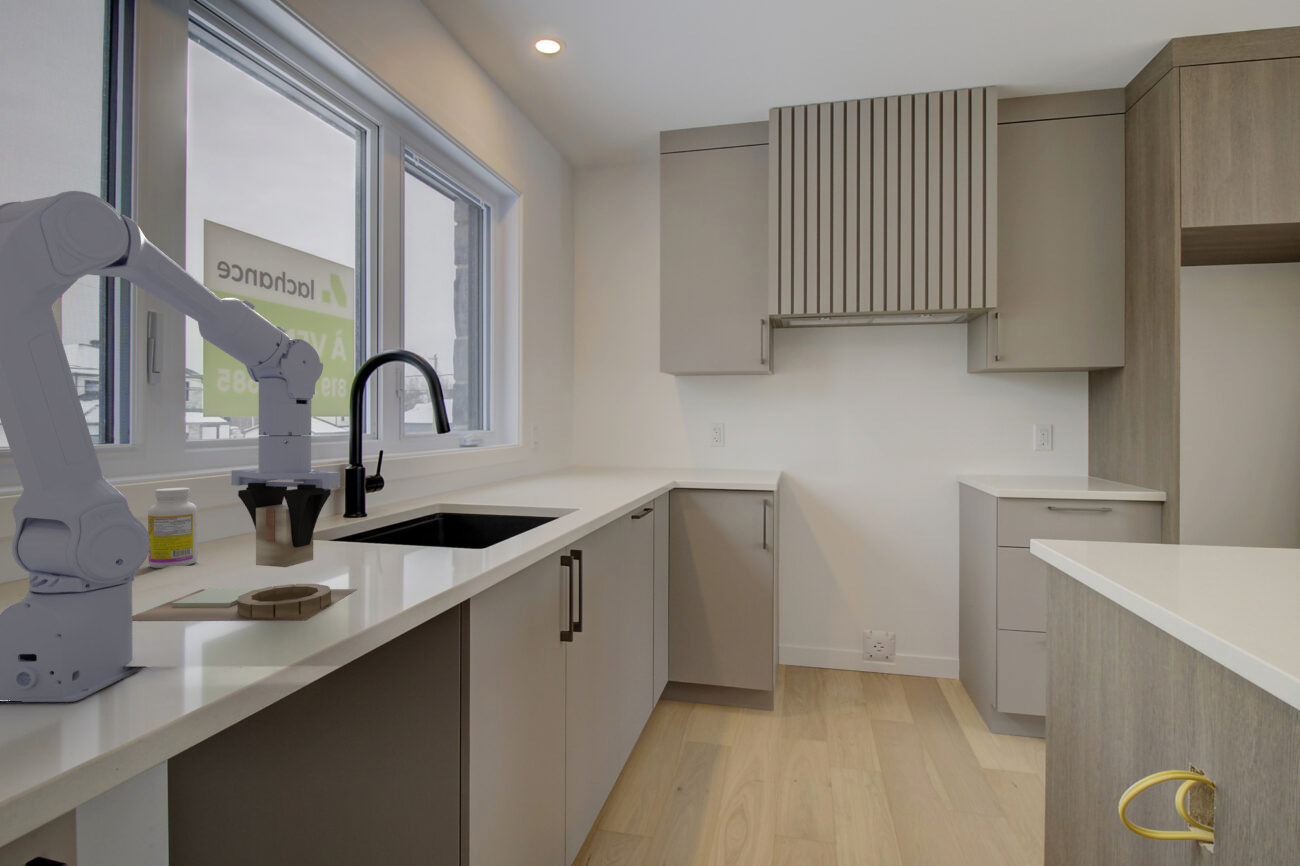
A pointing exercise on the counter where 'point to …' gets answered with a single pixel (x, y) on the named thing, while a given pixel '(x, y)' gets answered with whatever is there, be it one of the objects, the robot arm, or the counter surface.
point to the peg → (278, 539)
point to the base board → (255, 605)
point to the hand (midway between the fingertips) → (285, 544)
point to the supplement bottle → (172, 529)
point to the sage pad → (213, 598)
